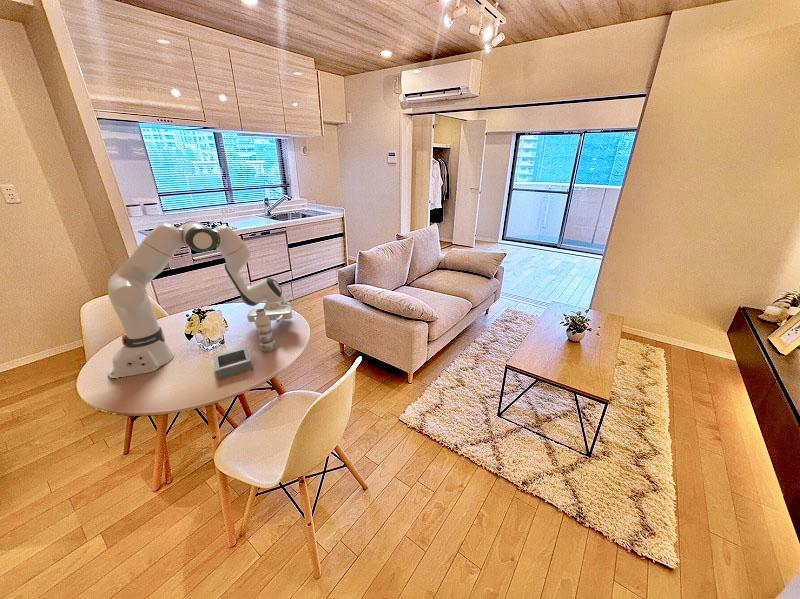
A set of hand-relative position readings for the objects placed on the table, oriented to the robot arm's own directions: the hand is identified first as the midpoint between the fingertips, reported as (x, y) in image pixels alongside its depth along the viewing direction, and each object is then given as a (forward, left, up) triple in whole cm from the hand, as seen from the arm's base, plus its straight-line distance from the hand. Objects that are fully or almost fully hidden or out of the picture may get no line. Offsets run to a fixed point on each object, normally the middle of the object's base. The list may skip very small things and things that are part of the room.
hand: (267, 322), depth 147 cm
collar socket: (-17, -12, -11) cm, 24 cm away
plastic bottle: (-2, -6, -11) cm, 13 cm away
